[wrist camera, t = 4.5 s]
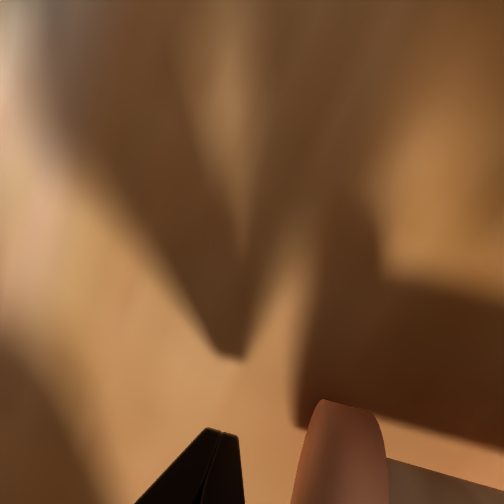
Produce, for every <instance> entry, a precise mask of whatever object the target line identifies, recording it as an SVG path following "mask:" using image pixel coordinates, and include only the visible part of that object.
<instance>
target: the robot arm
mask: <svg viewBox="0 0 504 504" xmlns="http://www.w3.org/2000/svg"><path fill="white" fill-rule="evenodd" d="M134 504H245V498H244V488H243V478H242V468H241V458H240V448H239V439H238V437H237V436H236V435H233V434H230V433H226V432H221V431H219V430H216V429H212V428H205V429H204V430H203V431H202V432H201V433H200V434H199V435H198V436H197V437H196V438H195V439H194V440H193V441H192V442H191V444H190V445H189V446H188V447H187V448H186V449H185V450H184V451H183V452H182V453H181V454H180V455H179V456H178V457H177V458H176V460H175V461H174V462H173V463H172V464H171V465H170V466H169V467H168V468H167V469H166V470H165V471H164V472H163V473H162V474H161V476H160V477H159V478H158V479H157V480H156V481H155V482H154V483H153V484H152V485H151V486H150V487H149V488H148V489H147V490H146V492H145V493H144V494H143V495H142V496H141V497H140V498H139V499H138V500H137V501H136V502H135V503H134Z"/></svg>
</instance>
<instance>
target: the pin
mask: <svg viewBox="0 0 504 504" xmlns="http://www.w3.org/2000/svg"><path fill="white" fill-rule="evenodd" d="M291 504H504V491H502V490H498V489H495V488H491V487H488V486H484V485H481V484H477V483H474V482H470V481H467V480H463V479H460V478H456V477H453V476H449V475H446V474H442V473H439V472H435V471H432V470H428V469H425V468H421V467H418V466H414V465H411V464H407V463H404V462H400V461H397V460H393V459H390V458H386V453H385V447H384V441H383V437H382V433H381V430H380V427H379V424H378V422H377V420H376V418H375V417H374V415H373V414H372V413H370V412H368V411H364V410H361V409H357V408H354V407H350V406H346V405H343V404H339V403H335V402H332V401H328V400H324V399H322V400H320V401H319V403H318V404H317V406H316V408H315V410H314V412H313V415H312V417H311V420H310V423H309V426H308V429H307V433H306V436H305V440H304V444H303V447H302V451H301V456H300V460H299V464H298V469H297V473H296V478H295V483H294V488H293V493H292V498H291Z"/></svg>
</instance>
